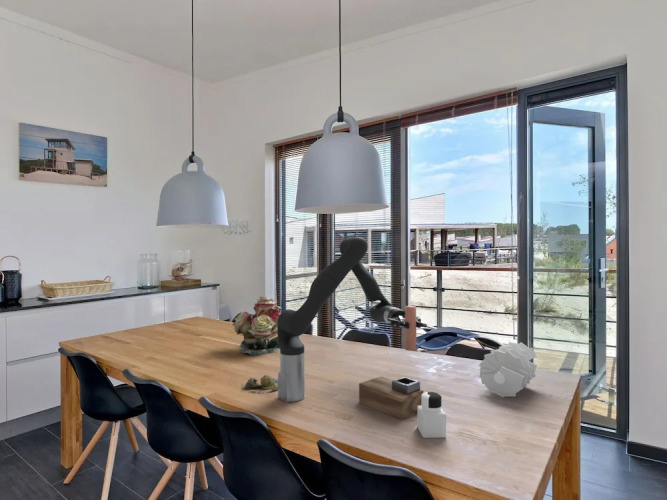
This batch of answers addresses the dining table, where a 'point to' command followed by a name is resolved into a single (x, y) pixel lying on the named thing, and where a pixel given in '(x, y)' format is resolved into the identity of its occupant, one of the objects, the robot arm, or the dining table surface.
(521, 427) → the dining table surface
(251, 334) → the rose bouquet
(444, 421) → the medicine bottle
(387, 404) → the brown wooden block
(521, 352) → the spiral staircase
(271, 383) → the mossy rock cluster
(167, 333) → the dining table surface
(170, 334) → the dining table surface
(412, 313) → the key peg
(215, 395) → the dining table surface
